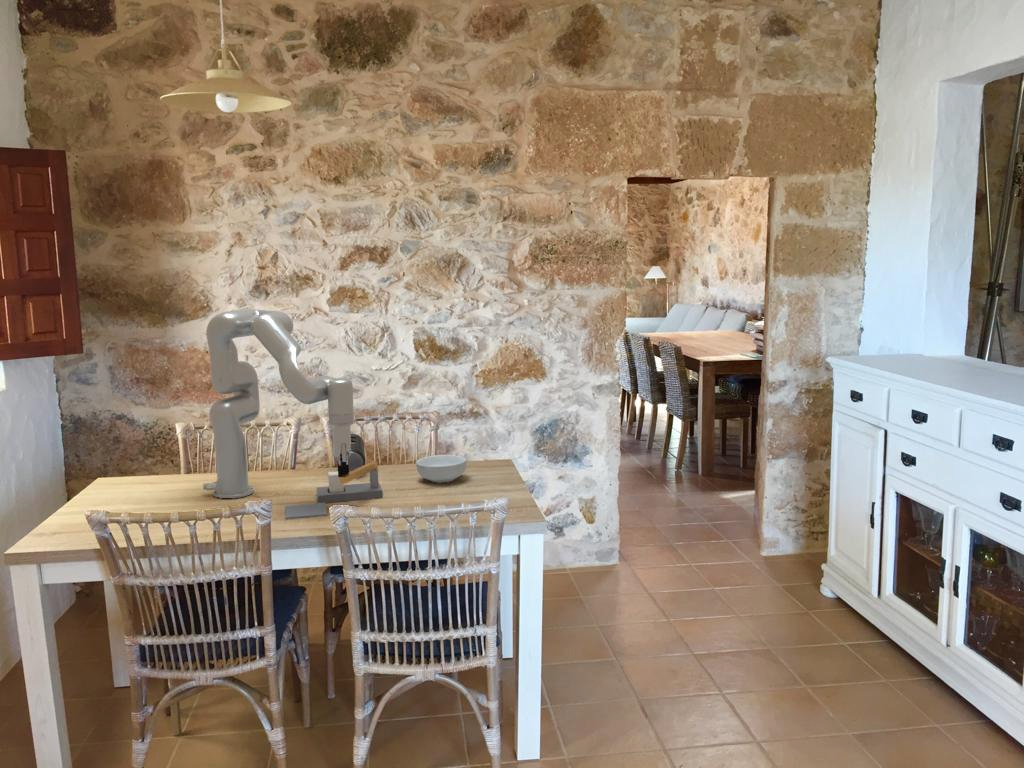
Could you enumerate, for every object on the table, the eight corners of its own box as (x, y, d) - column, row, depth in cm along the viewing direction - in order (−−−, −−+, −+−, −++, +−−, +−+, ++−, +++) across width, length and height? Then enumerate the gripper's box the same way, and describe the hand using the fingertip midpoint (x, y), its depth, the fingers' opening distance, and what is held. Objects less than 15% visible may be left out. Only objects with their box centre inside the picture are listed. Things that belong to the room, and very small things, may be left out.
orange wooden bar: (345, 484, 255) (345, 477, 254) (338, 483, 255) (338, 476, 255) (379, 467, 273) (378, 461, 273) (371, 466, 274) (371, 460, 274)
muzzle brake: (365, 459, 321) (364, 432, 319) (366, 478, 293) (364, 449, 292) (340, 460, 319) (338, 433, 317) (338, 480, 292) (336, 451, 290)
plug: (330, 500, 268) (329, 475, 267) (329, 496, 272) (328, 472, 271) (344, 498, 269) (343, 474, 268) (343, 495, 274) (342, 471, 272)
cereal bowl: (456, 471, 301) (456, 452, 300) (474, 482, 286) (473, 462, 285) (410, 477, 294) (409, 457, 293) (426, 489, 279) (425, 468, 278)
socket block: (318, 503, 265) (317, 478, 263) (316, 494, 274) (315, 470, 273) (382, 497, 270) (381, 472, 268) (379, 489, 279) (378, 465, 278)
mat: (285, 519, 250) (285, 517, 249) (285, 507, 261) (285, 506, 261) (327, 515, 253) (327, 513, 253) (325, 503, 264) (324, 502, 264)
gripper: (327, 415, 264) (329, 472, 267) (330, 424, 250) (333, 484, 253) (351, 413, 266) (353, 470, 269) (356, 422, 252) (358, 482, 255)
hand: (343, 477), depth 261 cm, fingers closed
